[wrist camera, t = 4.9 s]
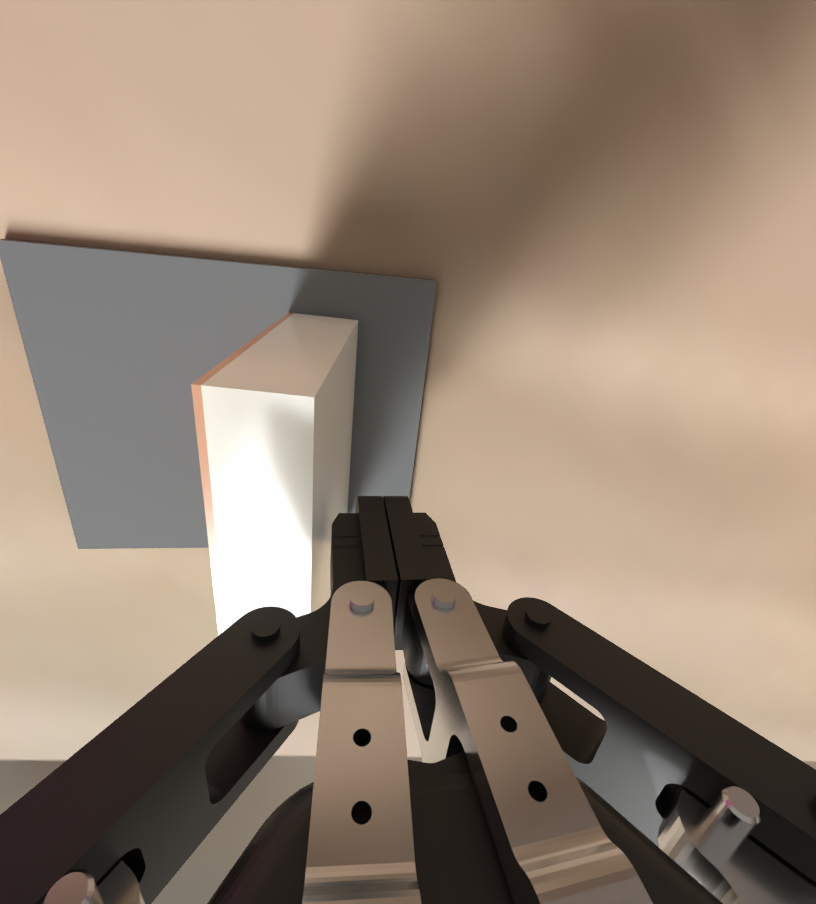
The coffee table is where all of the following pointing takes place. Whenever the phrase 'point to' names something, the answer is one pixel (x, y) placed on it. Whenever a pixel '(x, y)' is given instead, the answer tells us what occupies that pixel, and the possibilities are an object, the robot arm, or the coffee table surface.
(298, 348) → the tile
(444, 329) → the coffee table surface
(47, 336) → the mat
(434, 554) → the robot arm
